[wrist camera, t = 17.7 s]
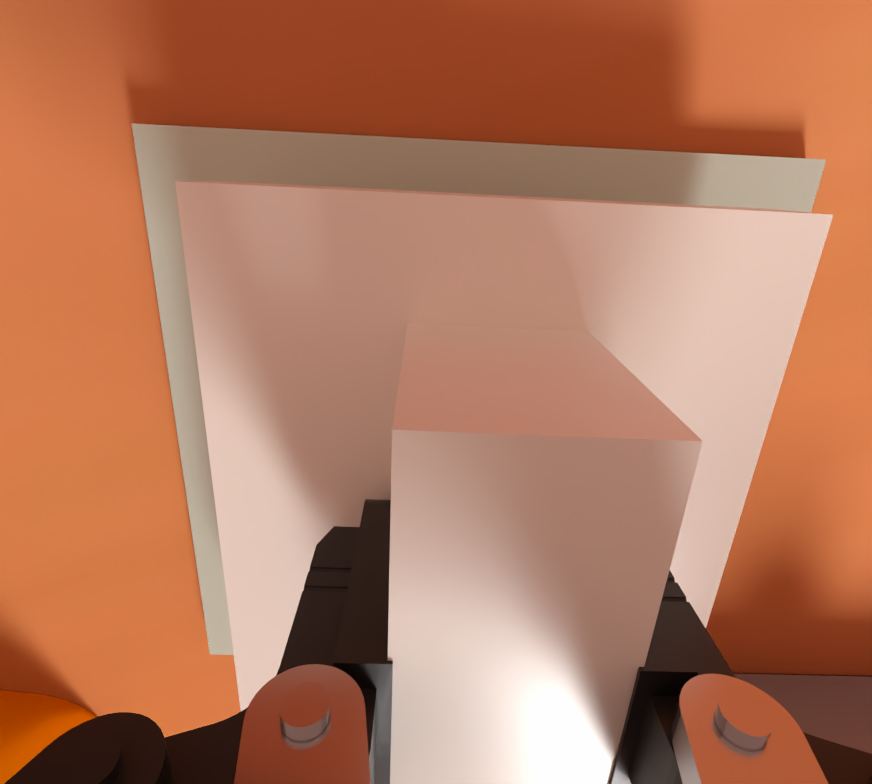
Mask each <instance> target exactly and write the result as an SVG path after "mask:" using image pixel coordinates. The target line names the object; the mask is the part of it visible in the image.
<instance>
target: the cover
mask: <svg viewBox="0 0 872 784" xmlns="http://www.w3.org/2000/svg"><path fill="white" fill-rule="evenodd" d="M175 185H176V193H177V202H178V210H179V218H180V226H181V234H182V242H183V250H184V258H185V266H186V274H187V282H188V290H189V298H190V306H191V314H192V322H193V330H194V338H195V346H196V354H197V363H198V371H199V379H200V387H201V395H202V403H203V411H204V419H205V427H206V435H207V443H208V451H209V459H210V467H211V475H212V483H213V491H214V499H215V507H216V515H217V524H218V532H219V540H220V548H221V556H222V564H223V572H224V580H225V588H226V596H227V604H228V612H229V620H230V628H231V636H232V644H233V652H234V660H235V668H236V677H237V685H238V693H239V701H240V709H241V711H243V710H244V709H246V708H247V707H248V706H249V704H250V702H251V701H252V699H253V698H254V696H255V694H256V693H257V692H258V691H259V690H260V689H261V688H262V687H263V686H264V685H265V684H266V683H267V682H268V681H269V680H271V679H272V678H274V677H275V676H276V675H277V672H278V669H279V667H280V664H281V660H282V657H283V654H284V651H285V647H286V644H287V641H288V637H289V634H290V631H291V627H292V624H293V621H294V618H295V614H296V611H297V608H298V604H299V601H300V598H301V594H302V591H304V585H305V581H306V578H307V575H308V571H310V565H311V561H312V558H313V555H314V552H315V548H316V545H317V544H318V543H319V542H320V541H321V539H322V538H323V537H324V536H325V535H326V534H327V533H328V532H329V531H330V530H331V529H332V528H333V527H334V526H340V527H360V522H361V517H362V512H363V507H364V502H365V499H376V500H391V508H390V561H389V613H388V661H393V677H392V718H391V760H390V784H609V782H610V778H611V774H612V770H613V766H614V762H615V758H616V754H617V750H618V746H619V743H620V739H621V735H622V731H623V727H624V723H625V719H626V715H627V711H628V707H629V703H630V700H631V696H632V692H633V688H634V684H635V680H636V676H637V672H638V668H639V667H644V666H645V662H646V658H647V654H648V650H649V646H650V643H651V639H652V635H653V631H654V627H655V623H656V620H657V616H658V612H659V608H660V604H661V600H662V597H663V593H664V589H665V585H666V581H667V578H668V574H669V570H670V571H671V573H672V575H673V576H674V578H675V579H674V580H675V583H678V584H679V586H680V588H681V589H682V591H683V593H684V594H685V596H686V601H687V602H690V604H691V606H692V607H693V609H694V610H695V612H696V614H697V615H698V617H699V619H700V620H701V622H702V624H703V625H704V627H705V628H706V627H707V623H708V620H709V617H710V614H711V610H712V607H713V604H714V601H715V597H716V594H717V591H718V588H719V584H720V581H721V578H722V575H723V571H724V568H725V565H726V562H727V558H728V555H729V552H730V549H731V545H732V542H733V539H734V536H735V532H736V529H737V526H738V523H739V519H740V516H741V513H742V510H743V506H744V503H745V500H746V497H747V493H748V490H749V487H750V484H751V480H752V477H753V474H754V471H755V467H756V464H757V461H758V458H759V454H760V451H761V448H762V445H763V441H764V438H765V435H766V432H767V428H768V425H769V422H770V419H771V415H772V412H773V409H774V406H775V403H776V399H777V396H778V393H779V390H780V386H781V383H782V380H783V377H784V373H785V370H786V367H787V364H788V360H789V357H790V354H791V351H792V347H793V344H794V341H795V338H796V334H797V331H798V328H799V325H800V321H801V318H802V315H803V312H804V308H805V305H806V302H807V299H808V295H809V292H810V289H811V286H812V282H813V279H814V276H815V273H816V269H817V266H818V263H819V260H820V256H821V253H822V250H823V247H824V243H825V240H826V237H827V234H828V230H829V227H830V224H831V221H832V217H833V215H832V214H821V213H811V212H800V211H789V210H779V209H762V208H742V207H723V206H703V205H683V204H663V203H644V202H624V201H604V200H584V199H565V198H545V197H525V196H506V195H486V194H466V193H446V192H427V191H407V190H387V189H368V188H348V187H328V186H308V185H289V184H269V183H249V182H229V181H175Z"/></svg>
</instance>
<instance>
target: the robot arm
mask: <svg viewBox="0 0 872 784" xmlns="http://www.w3.org/2000/svg"><path fill="white" fill-rule="evenodd" d="M390 508H391V500H376V499H365V502H364V507H363V512H362V517H361V522H360V527H340V526H334V527H333V528H332V529H331V530H330V531H329V532H328V533H327V534H326V535H325V536H324V537H323V538H322V539H321V541H320V542H319V543H318V544H317V545H316V548H315V552H314V555H313V558H312V561H311V565H310V571H308V575H307V578H306V581H305V585H304V591H302V594H301V598H300V601H299V604H298V608H297V611H296V614H295V618H294V621H293V624H292V627H291V631H290V634H289V637H288V641H287V644H286V647H285V651H284V654H283V657H282V660H281V664H280V667H279V669H278V672H277V675H276V676H275V677H274V678H272V679H271V680H269V681H268V682H267V683H266V684H265V685H264V686H263V687H262V688H261V689H260V690H259V691H258V692H257V693H256V694H255V696H254V698H253V699H252V701H251V702H250V704H249V706H248V707H247V708H246V709H244V710H243V711H241V712H239V713H238V714H236V715H234V716H232V717H230V718H228V719H226V720H223V721H220V722H218V723H215V724H212V725H208V726H204V727H201V728H197V729H194V730H190V731H187V732H183V733H180V734H176V735H173V736H169V737H166V738H164V736H163V733H162V731H161V729H160V728H159V727H158V725H157V724H156V723H155V722H154V721H152V720H151V719H150V718H148V717H146V716H143V715H141V714H136V713H121V712H120V713H113V714H107V715H103V716H99V717H96V718H93V719H91V720H88V721H86V722H83V723H81V724H79V725H77V726H76V727H74V728H72V729H70V730H68V731H67V732H65V733H64V734H62V735H61V736H59V737H58V738H57V739H55V740H54V741H53V742H52V743H50V744H49V745H48V746H46V747H45V748H44V749H43V750H42V751H41V752H40V753H39V754H37V755H36V756H35V757H34V758H33V759H32V760H31V761H29V762H28V763H27V764H26V765H25V766H24V767H23V768H21V769H20V770H19V771H18V772H17V773H16V774H15V775H13V776H12V777H11V778H10V779H9V780H8V781H7V782H5V783H4V784H390V760H391V718H392V677H393V661H388V613H389V561H390ZM674 579H675V578H674V576H673V575H672V573H671V571H670V570H669V574H668V578H667V581H666V585H665V589H664V593H663V597H662V600H661V604H660V608H659V612H658V616H657V620H656V623H655V627H654V631H653V635H652V639H651V643H650V646H649V650H648V654H647V658H646V662H645V666H644V667H639V668H638V672H637V676H636V680H635V684H634V688H633V692H632V696H631V700H630V703H629V707H628V711H627V715H626V719H625V723H624V727H623V731H622V735H621V739H620V743H619V746H618V750H617V754H616V758H615V762H614V766H613V770H612V774H611V778H610V782H609V784H872V754H871V753H867V752H864V751H861V750H858V749H854V748H851V747H848V746H844V745H841V744H838V743H835V742H831V741H828V740H825V739H822V738H818V737H815V736H813V735H810V734H807V733H804V732H802V730H801V728H800V727H799V725H798V724H797V722H796V721H795V720H794V718H793V717H792V716H791V715H790V714H789V713H788V711H787V710H786V709H785V708H784V707H783V706H782V705H780V704H779V703H778V702H777V701H776V700H775V699H774V698H772V697H771V696H769V695H768V694H767V693H765V692H764V691H762V690H760V689H759V688H757V687H755V686H754V685H752V684H749V683H747V682H745V681H743V680H740V679H737V678H736V677H735V676H734V674H733V672H732V671H731V669H730V668H729V666H728V664H727V663H726V661H725V659H724V658H723V656H722V655H721V653H720V651H719V650H718V648H717V646H716V645H715V643H714V641H713V640H712V638H711V637H710V635H709V633H708V632H707V630H706V628H705V627H704V625H703V624H702V622H701V620H700V619H699V617H698V615H697V614H696V612H695V610H694V609H693V607H692V606H691V604H690V602H687V601H686V596H685V594H684V593H683V591H682V589H681V588H680V586H679V584H678V583H675V580H674Z"/></svg>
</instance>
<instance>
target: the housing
mask: <svg viewBox="0 0 872 784" xmlns="http://www.w3.org/2000/svg"><path fill="white" fill-rule="evenodd" d="M734 676H735V677H736V678H737V679H740V680H743V681H745V682H747V683H749V684H752V685H754V686H755V687H757V688H759V689H760V690H762V691H764V692H765V693H767V694H768V695H769V696H771V697H772V698H774V699H775V700H776V701H777V702H778V703H779V704H780V705H782V706H783V707H784V708H785V709H786V710H787V711H788V713H789V714H790V715H791V716H792V717H793V718H794V720H795V721H796V722H797V724H798V725H799V727H800V728H801V730H802V732H804V733H807V734H810V735H813V736H815V737H818V738H822V739H825V740H828V741H831V742H835V743H838V744H841V745H844V746H848V747H851V748H854V749H858V750H861V751H864V752H867V753H871V754H872V677H867V676H821V675H775V674H734Z"/></svg>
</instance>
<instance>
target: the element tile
mask: <svg viewBox="0 0 872 784" xmlns="http://www.w3.org/2000/svg"><path fill="white" fill-rule="evenodd" d="M96 717H97V716H95V715H94V714H92V713H91V712H90V711H88V710H87V709H86V708H84V707H82V706H79V705H76V704H74V703H71V702H69V701H66V700H64V699H60V698H56V697H51V696H47V695H42V694H32V693H23V692H14V691H5V690H0V784H4V783H5V782H7V781H8V780H9V779H10V778H11V777H12V776H13V775H15V774H16V773H17V772H18V771H19V770H20V769H21V768H23V767H24V766H25V765H26V764H27V763H28V762H29V761H31V760H32V759H33V758H34V757H35V756H36V755H37V754H39V753H40V752H41V751H42V750H43V749H44V748H45V747H46V746H48V745H49V744H50V743H52V742H53V741H54V740H55V739H57V738H58V737H59V736H61V735H62V734H64V733H65V732H67V731H68V730H70V729H72V728H74V727H76V726H77V725H79V724H81V723H83V722H86V721H88V720H91V719H93V718H96Z"/></svg>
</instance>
